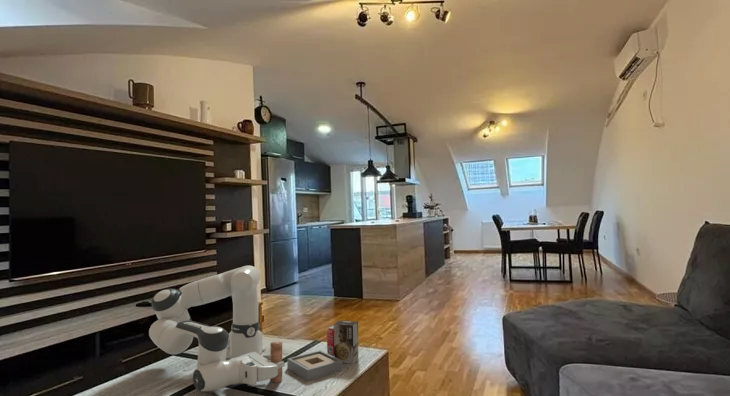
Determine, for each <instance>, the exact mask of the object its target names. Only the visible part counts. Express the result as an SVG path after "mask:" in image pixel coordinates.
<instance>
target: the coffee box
mask: <svg viewBox="0 0 730 396" xmlns="http://www.w3.org/2000/svg"><path fill="white" fill-rule="evenodd" d="M333 325H334V357H336V358H338V359H340V360H342V364H343V363H344V364H351V365H352V364H353V365H354V364H355V363H356V362H357V361H358V360H359V322H358V321H354V320H353V321H352V320H337V322H336V321H335V323H334V324H333Z"/></svg>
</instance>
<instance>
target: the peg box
mask: <svg viewBox="0 0 730 396" xmlns="http://www.w3.org/2000/svg"><path fill="white" fill-rule="evenodd" d="M286 361H287V364H286V367H287V368H286V369H287V370H289V371H291V372H293V373H294V374H295V375H298V376H299V377H300V378H302V379H303V380H304V379H305V380H306V381H308V382H309V381H312V380H315V379H318V378H321V377H325V376H329V375H331V374H335V373H339V372H342V371H343V363H342V360H340V359H338V358H336V357H334V356H332V355H330V354H328V352H325V351H324V350H321V349H320V350H316V351H313V352H308V353H305V354H300V355H297V356H292V357H289V358H287V360H286Z"/></svg>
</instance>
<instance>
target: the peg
mask: <svg viewBox="0 0 730 396" xmlns="http://www.w3.org/2000/svg"><path fill="white" fill-rule="evenodd" d="M269 348H270V351H269V352H270V360H269V361H271V362H273V363H274V364H275V363H276V364H277V363H278V362H279V361H283V342H282V341H281V340H279V341H278V340H275V341H272V342H270V347H269ZM269 380H270V383H272V384H273V383H274V384H277V383H281V382H282V381H283V367H281V368H279V369H278V375H277V376H276V377H274V378H271V379H269Z"/></svg>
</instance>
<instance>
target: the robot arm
mask: <svg viewBox="0 0 730 396" xmlns="http://www.w3.org/2000/svg"><path fill="white" fill-rule="evenodd" d="M260 280H261V274H260V271H259V269H258V268H257V267H255V266H253V265H243V266H241V267H237V268H234V269H230V270H227V271H224V272H222V273H219V274H215V275H212V276H208V277H205V278H202V279H199V280H194V281H192V282H189V283H187V284H184V285H183V286H181V287H180V288H165V289H161V290H160V291H157V292H156V293H155V294H154V295H153V297H152V298H151V299H150V300H151V303H150V304H151V307H152V309H153V311H154V313H155V315H156V318H157V319H156V321H154V322H153V323H152V324H151V325H150V326H149V327H150V328H149V329H148V336H149V338H150V339H151V340H152V342H153V344H155V345H156V346H157V347H158V348H159V349H160V350H162V351H164V353H166V354H169V355H178V354H181V353H183V352H184V351H186V350H187V349H188V348H189V347H190V346H191V344H192V343H193V340H194V338H196V339H197V341H198V353H197V360H196V361H197V363H196V368H195V369H194V371H193V373H192V383H193V386H194V388H195V389H196V390H197V391H198V392H210V391H211V392H212V391H215V390H220V389H223V388H226V387H228V386H230V385H239V384H244V385H245V384H246V385H249V386H254V385H257V383H258V382H264V381H267V380H270V379H271V378H274V377H276V376H277V375H278V369H279V368H281V367H282V368H284V367H285V365H286V363H285V361H283V360H282V361H279V362H278V363H277V364H276V363H275V364H274V363H273V362H271V361H270V354H262V352H263V351H266V347H265V346H264V345H263V333H262V332H261V330H260V320H259V300H258V299H259V298H258V289H257V288H258V284H259V282H260ZM228 297H231V299H232V322H231V326H230V327H231V328H230V332H228V331H227V330H226V329H225V328H224V327H221V326H215V325H213V326H212V325H209V324H204V323H201V322H199V321H198V322H197V321H193V320H192V318H191V314H190V313H189V311H188V309H190V308H191V307H192V308H193V307H197V306H202V305H206V304H209V303H213V302H216V301H219V300H220V301H221V300H222V299H223V300H224V299H226V298H228Z"/></svg>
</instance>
